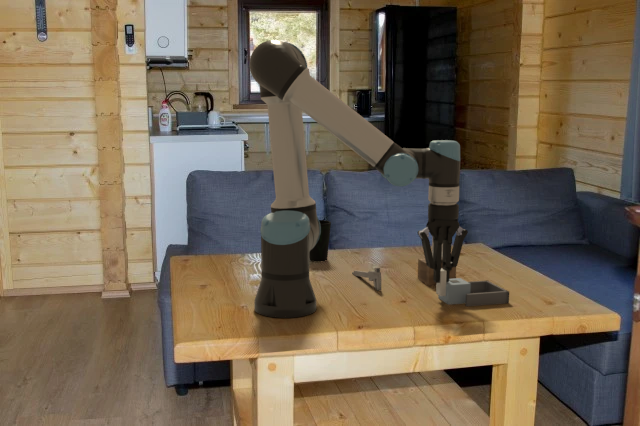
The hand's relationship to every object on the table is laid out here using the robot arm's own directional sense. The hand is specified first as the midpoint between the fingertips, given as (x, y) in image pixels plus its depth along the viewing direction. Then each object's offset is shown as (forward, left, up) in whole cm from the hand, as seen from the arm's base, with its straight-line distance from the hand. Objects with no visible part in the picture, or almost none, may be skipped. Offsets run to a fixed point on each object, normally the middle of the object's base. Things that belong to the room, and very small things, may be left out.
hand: (440, 294), depth 194 cm
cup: (-18, +53, -2) cm, 56 cm away
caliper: (-12, +24, -2) cm, 27 cm away
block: (+4, 0, -2) cm, 4 cm away
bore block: (+7, +19, -2) cm, 21 cm away
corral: (+10, 0, -2) cm, 10 cm away
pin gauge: (+7, +19, -1) cm, 21 cm away
